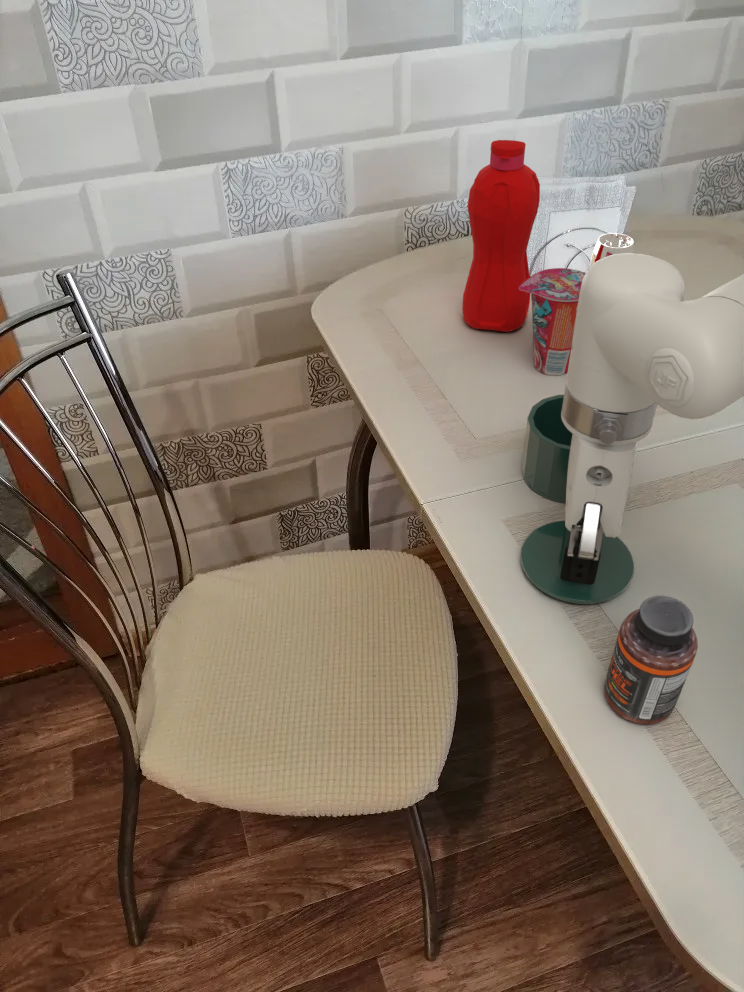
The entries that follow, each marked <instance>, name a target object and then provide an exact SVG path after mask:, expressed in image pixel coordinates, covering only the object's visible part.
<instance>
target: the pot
mask: <svg viewBox="0 0 744 992" xmlns="http://www.w3.org/2000/svg"><path fill="white" fill-rule="evenodd" d="M563 399H564V394H557V395H553V396H549V397H545V398H542V399H541V400H540V401H538V402H537V403H536V404H533V406H531V408H530V410H529V412H528V415H527V420H526V425H525V426H526V427H525V435H524V436H525V437H524V443H523V444H524V445H523V452H522V460H521V461H522V462H521V470H522V471H521V474H522V478H523V480H524V482H525V484H526V485H527V486H528V487H529V488H530V489H531V490H532V491H533V492H534V493H535V494H537V495H539V496H540V497H542V498H545V499H548V500H550V501H553V502H557V503H562V504H566V486H567V473H568V462H569V454H570V447H571V440H572V434H573V433H571V432H570V431H569V430H568V429H567V428H566V427H565V425H564V423H563V422H562V418H561V412H562V406H563Z"/></svg>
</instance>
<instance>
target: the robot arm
mask: <svg viewBox="0 0 744 992" xmlns="http://www.w3.org/2000/svg"><path fill="white" fill-rule="evenodd" d="M584 273H585V275H584V278H583V280H582V284H581V289H580V294H579V301H578V307H577V314H576V320H575V327H574V334H573V340H572V347H571V353H570V360H569V366H568V372H567V373H566V381H565V387H564V394H563V395H564V399H563V406H562V412H561V418H562V422H563V423H564V425H565V427H566V428H567V429H568V430H569V431H570V432H571V433H573V434H572V440H571V447H570V454H569V462H568V473H567V486H566V503H565V513H564V515H565V520H564V521H565V526H566V528H567V529H568V530H569V531H571V534H570V540H569V547H565V552H564V557H563V563H562V568H561V574H560V578H561V580H564V581H570V582H576V583H583V584H589V585H592V584H594V583H595V579H596V574H597V570H598V565H599V561H600V557H601V552H600V547H601V541H602V535H603V532H604V534H605V536H606V537H612V538H615V537H618V536H619V535H620V534H621V529H622V525H623V524H622V523H623V519H624V518H623V517H624V514H625V508H626V503H627V499H628V494H629V489H630V483H631V478H632V474H633V467H634V462H635V456H636V450H637V443H638V442H640V441H641V440H643V439H645V438H646V437H647V436H648V435H649V434H650V432H651V431H652V426H653V424H654V419H655V415H656V412H657V408H658V406H659V407H660V408H661V409H663V410H665V411H667V412H668V413H670V414H672V415H674V416H677V417H679V418H682V419H686V420H687V419H688V420H701V419H705V418H708V417H711V416H714V415H716V414H717V413H719V412H722V411H723V410H724V409H726V408H727V407H729V406H731V405H732V404H734V403H735V402H737V401H738V400H740V399H741V398H743V397H744V273H742V274H741V275H739V276H738V277H736V278H734V279H732V280H730V281H728V282H726V283H724V284H722V285H720V286H718V287H717V288H715V289H713V290H711V291H710V292H708V293H706V294H705V295H702V296H701V297H699V298H695V299H688V300H684V298H685V293H686V285H685V281H684V278H683V275H682V274H681V272H680V270H678V268H676V267H675V266H674V265H673V264H671V263H670V262H668V261H666V260H664V259H662V258H659V257H657V256H653V255H649V254H644V253H635V252H634V253H623V254H615V255H610V256H607V257H604V258H602V259H600V260H598V261H596V262H595V263H594V264H593V265H591V266H590V265H589V267H588V269H587V270H586V271H585V272H584ZM582 517H584V519H583V523H582V522H579V521H580V519H581V518H582ZM599 520H600V522H599V525H598V521H599ZM577 532H582V534H581V541H580V545H579V544H575V543H576V536H577Z"/></svg>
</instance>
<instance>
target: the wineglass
mask: <svg viewBox="0 0 744 992" xmlns="http://www.w3.org/2000/svg"><path fill="white" fill-rule="evenodd" d="M623 253H634V254H635V244H634V239H633V238H632V237H630V236H629V235H627V234H623V233H617V232H616V233H615V232H614V233H613V232H610V233H609V232H608V233H604V234H602V235H600V236H599V237H598V238H597V241H596V243H595V245H594V248H593V251H592V254H591V258H590V262H589V267H590V266H591V265H593V264H594V263H595V262H596V261H598V260H600V259H602V258H604V257H607V256H610V255H615V254H623Z"/></svg>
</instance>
